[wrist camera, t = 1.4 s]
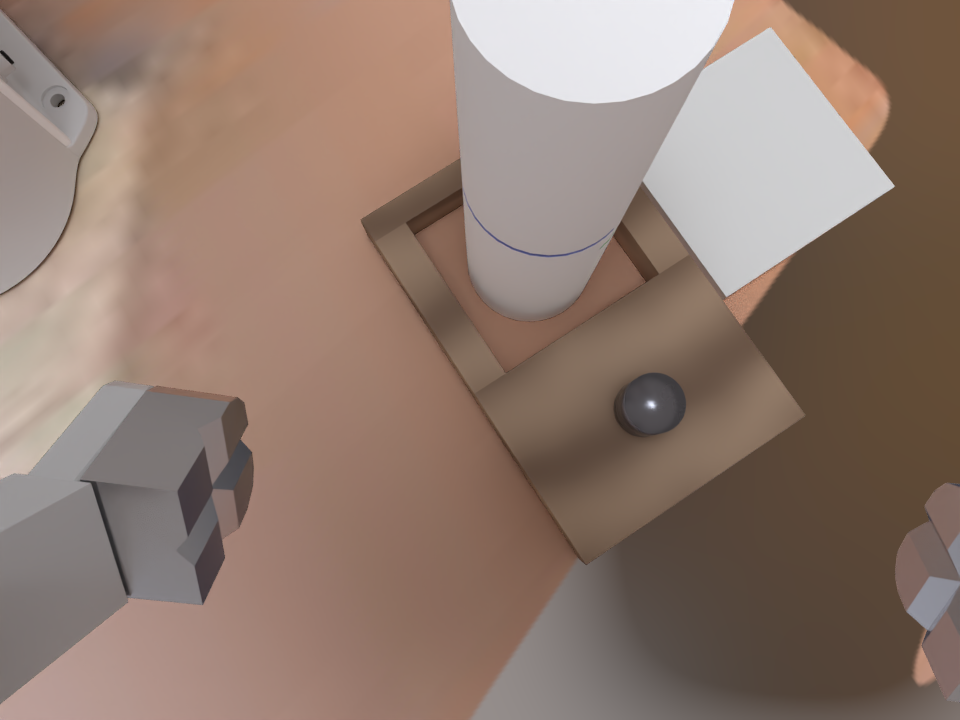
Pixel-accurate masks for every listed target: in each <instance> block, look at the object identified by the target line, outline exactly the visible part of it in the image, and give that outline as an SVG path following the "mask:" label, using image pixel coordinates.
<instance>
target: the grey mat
mask: <svg viewBox="0 0 960 720" xmlns="http://www.w3.org/2000/svg"><path fill="white" fill-rule="evenodd" d="M640 187H641V188H642V189H643V191H644V192H645V194H646V195H647V196H648V198H649V199H650V201H651V202H652V203H653V205H654V206H655V207H656V209H657V210H658V212H659V213H660V214H661V216H662V217H663V219H664V220H665V221H666V223H667V224H668V226H669V227H670V228H671V230H672V231H673V232H674V234H675V235H676V237H677V238H678V239H679V241H680V242H681V244H682V245H683V246H684V248H685V249H686V250H687V252H688V253H689V255H690V256H691V257H692V259H693V260H694V262H695V263H696V264H697V266H698V267H699V268H700V270H701V271H702V273H703V274H704V275H705V277H706V278H707V280H708V281H709V282H710V284H711V285H712V286H713V288H714V289H715V291H716V292H717V293H718V295H719V296H720V298H721V299H722V300H723V299H725V298H726V297H728V296H729V295H731V294H732V293H734V292H736V291H737V290H739V289H740V288H742V287H743V286H745V285H746V284H748V283H749V282H751V281H752V280H754V279H755V278H757V277H758V276H760V275H761V274H763V273H764V272H766V271H767V270H769V269H771V268H772V267H774V266H775V265H777V264H778V263H780V262H781V261H783V260H784V259H786V258H787V257H789V256H790V255H792V254H793V253H795V252H796V251H798V250H799V249H801V248H802V247H804V246H805V245H807V244H808V243H810V242H812V241H813V240H815V239H816V238H818V237H819V236H821V235H822V234H824V233H825V232H827V231H828V230H830V229H831V228H833V227H834V226H836V225H837V224H839V223H841V222H842V221H843V220H845V219H847V218H848V217H850V216H851V215H853V214H854V213H856V212H857V211H859V210H860V209H862V208H863V207H865V206H866V205H868V204H869V203H871V202H872V201H874V200H875V199H877V198H878V197H880V196H881V195H883V194H885V193H886V192H887V191H889V190H890V189H892V188H893V187H895V186H894V185H893V183H892V182H891V181H890V180H889V178H888V177H887V176H886V175H885V173H884V172H883V171H882V169H881V168H880V167H879V166H878V164H877V163H876V162H875V160H874V159H873V158H872V157H871V155H870V154H869V153H868V151H867V150H866V149H865V148H864V146H863V145H862V144H861V142H860V141H859V140H858V139H857V137H856V136H855V135H854V133H853V132H852V131H851V130H850V128H849V127H848V126H847V124H846V123H845V122H844V121H843V119H842V118H841V117H840V115H839V114H838V113H837V112H836V110H835V109H834V108H833V107H832V105H831V104H830V103H829V101H828V100H827V99H826V98H825V96H824V95H823V94H822V92H821V91H820V90H819V89H818V87H817V86H816V85H815V83H814V82H813V81H812V80H811V78H810V77H809V76H808V74H807V73H806V72H805V71H804V69H803V68H802V67H801V65H800V64H799V63H798V62H797V60H796V59H795V58H794V56H793V55H792V54H791V53H790V51H789V50H788V49H787V47H786V46H785V45H784V44H783V42H782V41H781V40H780V38H779V37H778V36H777V35H776V33H775V32H774V31H773V30H772V28H771V27H770V28H768V29H767V30H765V31H763V32H762V33H760V34H759V35H757V36H755V37H754V38H752V39H751V40H749V41H747V42H746V43H744V44H743V45H741V46H739V47H738V48H736V49H735V50H733V51H731V52H730V53H728V54H726V55H725V56H723V57H722V58H720V59H718V60H717V61H715V62H714V63H712V64H710V65H709V66H707V67H706V68H704V69H702V71H701V73H700V75H699V77H698V78H697V80H696V82H695V84H694V86H693V88H692V90H691V91H690V93H689V95H688V97H687V99H686V101H685V103H684V105H683V106H682V108H681V110H680V112H679V114H678V116H677V118H676V119H675V121H674V123H673V125H672V127H671V129H670V131H669V132H668V134H667V136H666V138H665V140H664V142H663V144H662V145H661V147H660V149H659V151H658V153H657V155H656V157H655V158H654V160H653V162H652V164H651V166H650V168H649V170H648V171H647V173H646V175H645V177H644V179H643V181H642V183H641V185H640Z"/></svg>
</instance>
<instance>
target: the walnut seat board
mask: <svg viewBox="0 0 960 720" xmlns="http://www.w3.org/2000/svg"><path fill="white" fill-rule="evenodd" d="M461 205H463V189H462V174H461V159H458V160H457V161H455V162H454V163H452V164H450V165H449V166H447V167H445V168H444V169H442V170H441V171H439V172H437V173H436V174H434V175H432V176H431V177H429V178H428V179H426V180H424V181H423V182H421V183H419V184H418V185H416V186H415V187H413V188H411V189H410V190H408V191H406V192H405V193H403V194H402V195H400V196H398V197H397V198H395V199H393V200H392V201H390V202H388V203H387V204H385V205H384V206H382V207H380V208H379V209H377V210H375V211H374V212H372V213H371V214H369V215H367V216H366V217H364V218H362V219H361V222H362V224H363V226H364V228H365V230H366V233H367V235H368V236H369V238H370V239H371V241H372V242H373V244H374V245H375V247H376V248H377V250H378V252H379V253H380V255H381V256H382V258H383V259H384V261H385V262H386V264H387V265H388V267H389V268H390V270H391V271H392V273H393V274H394V276H395V278H396V279H397V281H398V282H399V284H400V285H401V287H402V288H403V290H404V291H405V293H406V294H407V296H408V297H409V299H410V300H411V302H412V304H413V305H414V307H415V308H416V310H417V311H418V313H419V314H420V316H421V317H422V319H423V320H424V322H425V323H426V325H427V327H428V328H429V330H430V331H431V333H432V334H433V336H434V337H435V339H436V340H437V342H438V343H439V345H440V346H441V348H442V349H443V351H444V353H445V354H446V356H447V357H448V359H449V360H450V362H451V363H452V365H453V366H454V368H455V369H456V371H457V372H458V374H459V376H460V377H461V379H462V380H463V382H464V383H465V385H466V386H467V388H468V389H469V391H470V392H471V394H472V395H473V397H474V398H475V400H476V402H477V403H478V405H479V406H480V408H481V409H482V411H483V412H484V414H485V415H486V417H487V418H488V420H489V421H490V423H491V424H492V426H493V428H494V429H495V431H496V432H497V434H498V435H499V437H500V438H501V440H502V441H503V443H504V444H505V446H506V447H507V449H508V451H509V452H510V454H511V455H512V457H513V458H514V460H515V461H516V463H517V464H518V466H519V467H520V469H521V470H522V472H523V473H524V475H525V477H526V478H527V480H528V481H529V483H530V484H531V486H532V487H533V489H534V490H535V492H536V493H537V495H538V496H539V498H540V500H541V501H542V503H543V504H544V506H545V507H546V509H547V510H548V512H549V513H550V515H551V516H552V518H553V519H554V521H555V522H556V524H557V526H558V527H559V529H560V530H561V532H562V533H563V535H564V536H565V538H566V539H567V541H568V542H569V544H570V545H571V547H572V548H573V550H574V552H575V553H576V555H577V556H578V558H579V559H580V560H581V561H582V562H583V563H584V564H586V565H587V564H588V563H590V562H591V561H593V560H594V559H596V558H597V557H599V556H600V555H601V554H603V553H605V552H606V551H607V550H609V549H610V548H612V547H613V546H615V545H616V544H618V543H619V542H621V541H622V540H624V539H625V538H627V537H628V536H629V535H631V534H632V533H634V532H635V531H637V530H638V529H640V528H641V527H643V526H644V525H646V524H647V523H649V522H650V521H651V520H653V519H654V518H656V517H657V516H659V515H660V514H662V513H663V512H665V511H666V510H668V509H669V508H671V507H672V506H674V505H675V504H677V503H678V502H679V501H681V500H682V499H684V498H685V497H686V496H688V495H690V494H691V493H693V492H694V491H696V490H697V489H698V488H700V487H701V486H703V485H704V484H706V483H707V482H709V481H710V480H712V479H713V478H715V477H716V476H718V475H719V474H721V473H722V472H724V471H725V470H726V469H728V468H729V467H731V466H732V465H734V464H735V463H737V462H738V461H740V460H741V459H743V458H744V457H746V456H747V455H748V454H750V453H751V452H753V451H754V450H756V449H757V448H759V447H760V446H762V445H763V444H765V443H766V442H767V441H769V440H770V439H772V438H773V437H775V436H776V435H778V434H779V433H781V432H782V431H783V430H785V429H786V428H788V427H789V426H791V425H792V424H794V423H795V422H797V421H798V420H800V419H801V418H803V417H804V416H805V414H804V413H803V411H802V410H801V408H800V407H799V406H798V404H797V403H796V401H795V400H794V399H793V397H792V396H791V395H790V393H789V392H788V391H787V389H786V388H785V386H784V385H783V383H782V382H781V381H780V379H779V378H778V377H777V375H776V374H775V372H774V371H773V370H772V368H771V367H770V365H769V364H768V363H767V361H766V360H765V359H764V357H763V356H762V354H761V353H760V352H759V350H758V349H757V347H756V346H755V345H754V343H753V342H752V341H751V339H750V338H749V336H748V335H747V334H746V332H745V331H744V329H743V328H742V327H741V325H740V324H739V322H738V321H737V320H736V318H735V317H734V316H733V314H732V313H731V311H730V310H729V309H728V307H727V306H726V304H725V303H724V302H723V300H722V299H721V298H720V296H719V295H718V293H717V292H716V291H715V289H714V288H713V286H712V285H711V284H710V282H709V281H708V280H707V278H706V277H705V275H704V274H703V273H702V271H701V270H700V268H699V267H698V266H697V264H696V263H695V262H694V260H693V259H692V257H691V256H690V255H689V253H688V252H687V250H686V249H685V248H684V246H683V245H682V244H681V242H680V241H679V239H678V238H677V237H676V235H675V234H674V232H673V231H672V230H671V228H670V227H669V226H668V224H667V223H666V221H665V220H664V219H663V217H662V216H661V214H660V213H659V212H658V210H657V209H656V207H655V206H654V205H653V203H652V202H651V201H650V199H649V198H648V196H647V195H646V194H645V192H644V191H643V189H642V188H641V187H640V186H639V188H638V190H637V192H636V194H635V196H634V198H633V199H632V201H631V203H630V205H629V207H628V209H627V211H626V212H625V214H624V216H623V218H622V220H621V222H620V224H619V225H618V227H617V229H616V231H615V233H614V237H615V238H616V240H617V241H618V242H619V244H620V245H621V247H622V248H623V249H624V251H625V252H626V254H627V255H628V256H629V258H630V259H631V261H632V262H633V264H634V265H635V266H636V268H637V269H638V271H639V272H640V273H641V275H642V276H643V278H644V279H645V280H646V283H645V284H643V285H641V286H640V287H638V288H637V289H635V290H634V291H632V292H631V293H629V294H628V295H626V296H624V297H623V298H621V299H620V300H618V301H617V302H615V303H614V304H612V305H611V306H609V307H607V308H606V309H604V310H603V311H601V312H600V313H598V314H597V315H595V316H594V317H592V318H591V319H589V320H587V321H586V322H584V323H583V324H581V325H580V326H578V327H577V328H575V329H574V330H572V331H570V332H569V333H567V334H566V335H564V336H563V337H561V338H560V339H558V340H557V341H555V342H553V343H552V344H550V345H549V346H547V347H546V348H544V349H543V350H541V351H540V352H538V353H536V354H535V355H533V356H532V357H530V358H529V359H527V360H526V361H524V362H523V363H521V364H520V365H518V366H516V367H515V368H513V369H512V370H510V371H509V372H507V373H505V371H504V370H503V368H502V367H501V365H500V364H499V362H498V361H497V359H496V358H495V356H494V355H493V353H492V352H491V350H490V349H489V347H488V346H487V344H486V343H485V341H484V340H483V338H482V337H481V335H480V334H479V332H478V331H477V329H476V328H475V326H474V325H473V323H472V322H471V320H470V319H469V317H468V316H467V314H466V313H465V311H464V310H463V308H462V307H461V305H460V304H459V302H458V301H457V299H456V298H455V296H454V295H453V293H452V292H451V290H450V289H449V287H448V286H447V284H446V283H445V281H444V280H443V278H442V277H441V275H440V274H439V272H438V271H437V269H436V268H435V266H434V264H433V263H432V261H431V260H430V258H429V257H428V255H427V254H426V252H425V251H424V249H423V248H422V246H421V245H420V243H419V242H418V240H417V239H416V237H415V236H414V234H416V233H418V232H419V231H421V230H422V229H424V228H426V227H427V226H429V225H430V224H432V223H434V222H435V221H437V220H438V219H440V218H442V217H443V216H445V215H447V214H448V213H450V212H451V211H453V210H455V209H456V208H458V207H459V206H461Z"/></svg>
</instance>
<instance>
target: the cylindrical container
mask: <svg viewBox="0 0 960 720" xmlns="http://www.w3.org/2000/svg"><path fill="white" fill-rule="evenodd" d="M733 3H734V0H450V11H451V27H452V42H453V57H454V72H455V87H456V102H457V116H458V131H459V145H460V159H461V174H462V189H463V205H464V220H465V235H466V249H467V262H468V273H469V276H470V279H471V283H472V285H473V287H474V289H475V291H476V293H477V294H478V295H479V297H480V298H481V299H482V300H483V302H484V303H485V304H486V305H488V306H489V307H490V308H491V309H492V310H494V311H496V312H497V313H499V314H501V315H503V316H505V317H508V318H511V319H514V320H519V321H528V322H530V321H541V320H545V319H548V318H552V317H554V316H556V315H558V314H560V313H562V312H564V311H565V310H566V309H568V308H569V307H570V306H571V305H572V304H573V303H574V302H575V301H576V300H577V299H578V298H579V296H580V295H581V293H582V291H583V290H584V288H585V286H586V284H587V282H588V281H589V279H590V277H591V275H592V273H593V271H594V270H595V268H596V266H597V264H598V262H599V260H600V258H601V257H602V255H603V253H604V251H605V249H606V247H607V246H608V244H609V242H610V240H611V238H612V236H613V235H614V233H615V231H616V229H617V227H618V225H619V224H620V222H621V220H622V218H623V216H624V214H625V212H626V211H627V209H628V207H629V205H630V203H631V201H632V199H633V198H634V196H635V194H636V192H637V190H638V188H639V186H640V185H641V183H642V181H643V179H644V177H645V175H646V173H647V171H648V170H649V168H650V166H651V164H652V162H653V160H654V158H655V157H656V155H657V153H658V151H659V149H660V147H661V145H662V144H663V142H664V140H665V138H666V136H667V134H668V132H669V131H670V129H671V127H672V125H673V123H674V121H675V119H676V118H677V116H678V114H679V112H680V110H681V108H682V106H683V105H684V103H685V101H686V99H687V97H688V95H689V93H690V91H691V90H692V88H693V86H694V84H695V82H696V80H697V78H698V77H699V75H700V73H701V71H702V69H703V67H704V65H705V64H706V62H707V60H708V58H709V56H710V54H711V52H712V51H713V49H714V47H715V45H716V43H717V41H718V39H719V38H720V36H721V34H722V32H723V30H724V28H725V26H726V25H727V22H728V19H729V16H730V13H731V9H732V6H733Z"/></svg>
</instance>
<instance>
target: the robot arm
mask: <svg viewBox="0 0 960 720" xmlns="http://www.w3.org/2000/svg"><path fill="white" fill-rule="evenodd" d="M62 100H65V103H64V104H63V105H62V106H61V107H57V106H58V104H59V102H60V101H62ZM97 120H98V116H97V112H96V110H95V108H94V107H93V105H92V104H91V103H90V102H89V101H88V100H87V99H86V98H85V97H84V96H83V95H82V94H81V93H80V92H79V90H78V89H77V88H76V87H75V86H74V85H73V84H72V83H71V82H70V81H69V80H68V79H67V78H66V77H65V76H64V75H63V74H62V73H61V72H60V71H59V69H58V68H57V67H56V66H55V65H54V64H53V63H52V62H51V61H50V60H49V59H48V58H47V57H46V56H45V55H44V54H43V53H42V52H41V51H40V50H39V48H38V47H37V46H36V45H35V44H34V43H33V42H32V41H31V40H30V39H29V38H28V37H27V36H26V35H25V34H24V33H23V32H22V31H21V30H20V29H19V28H18V26H17V25H16V24H15V23H14V22H13V21H12V20H11V19H10V18H9V17H8V16H7V15H6V14H5V13H4V12H3V11H2V10H1V9H0V294H1V293H3V292H5V291H6V290H8V289H10V288H11V287H13V286H14V285H16V284H17V283H19V282H20V281H21V280H23V279H24V278H25V277H26V276H28V275H29V274H30V273H31V272H32V271H33V270H34V269H35V268H36V267H37V266H38V265H39V264H40V263H41V262H42V261H43V260H44V259H45V257H46V256H47V255H48V254H49V252H50V251H51V250H52V248H53V247H54V245H55V244H56V242H57V240H58V239H59V237H60V235H61V233H62V231H63V229H64V227H65V225H66V222H67V220H68V217H69V214H70V211H71V207H72V203H73V198H74V191H75V181H76V172H77V166H78V162H79V159H80V157H81V155H82V154H83V152H84V150H85V148H86V147H87V145H88V143H89V141H90V139H91V137H92V135H93V133H94V131H95V128H96V125H97ZM247 425H248V421H247V415H246V410H245V404H244V402H243V401H242V400H240V399H239V398H238V397H232V396H225V395H218V394H211V393H204V392H197V391H190V390H183V389H176V388H169V387H162V386H155V387H154V386H150V385H143V384H136V383H129V382H122V381H113V382H110V383H108V384H105V385H103V386H102V387H101V388H100V389H99V391H98V392H97V393H96V394H95V395H94V397H93V398H92V399H91V400H90V401H89V403H88V404H87V405H86V406H85V407H84V408H83V410H82V411H81V412H80V413H79V414H78V416H77V417H76V418H75V419H74V420H73V422H72V423H71V424H70V425H69V426H68V427H67V429H66V430H65V431H64V432H63V433H62V435H61V436H60V437H59V438H58V439H57V441H56V442H55V443H54V444H53V445H52V446H51V448H50V449H49V450H48V451H47V452H46V454H45V455H44V456H43V457H42V458H41V459H40V461H39V462H38V463H37V464H36V465H35V467H34V468H33V469H32V470H31V471H30V473H29V474H28V475H23V474H12V475H10V476H7V477H5V478H3V479H1V480H0V704H1V703H2V702H3V701H5V700H6V699H7V698H8V697H10V696H11V695H12V694H13V693H15V692H16V691H17V690H18V689H20V688H21V687H22V686H23V685H25V684H26V683H27V682H28V681H30V680H31V679H32V678H34V677H35V676H36V675H37V674H39V673H40V672H41V671H42V670H44V669H45V668H46V667H47V666H49V665H50V664H51V663H52V662H54V661H55V660H56V659H57V658H59V657H60V656H61V655H62V654H64V653H65V652H66V651H67V650H69V649H70V648H71V647H72V646H74V645H75V644H76V643H77V642H79V641H80V640H81V639H82V638H84V637H85V636H86V635H87V634H89V633H90V632H91V631H92V630H94V629H95V628H96V627H97V626H99V625H100V624H101V623H102V622H104V621H105V620H106V619H108V618H109V617H110V616H111V615H113V614H114V613H115V612H116V611H118V610H119V609H120V608H121V607H123V606H124V605H125V604H126V603H128V598H137V599H147V600H157V601H167V602H177V603H187V604H197V605H203V603H204V601H205V599H206V597H207V595H208V593H209V591H210V589H211V587H212V584H213V582H214V580H215V578H216V576H217V574H218V572H219V570H220V568H221V565H222V563H223V561H224V559H225V555H224V549H223V543H222V539H223V538H225V537H226V536H228V535H229V534H231V533H232V532H234V531H235V530H237V529H238V528H239V527H240V525H241V522H242V520H243V518H244V515H245V513H246V511H247V508H248V504H249V500H250V496H251V492H252V487H253V472H254V466H253V458H252V452H251V451H250V450H249V449H248V448H247V446H246V445H245V444H244V443H243V442H242V441H241V440H240V439H241V437H242V435H243V433H244V431H245V429H246V427H247ZM925 509H926V512H927V515H928V518H929V520H930V521H928V522H927V523H925V524H923V525H921V526H919V527H917V528H916V529H914V530H912V531H910V532H908V534H907V536H906V537H905V539H904V541H903V543H902V545H901V547H900V549H899V550H898V552H897V561H896V570H895V578H896V583H897V589H898V593H899V596H900V598H901V600H902V603H903V605H904V607H905V610H906V611H907V612H908V614H910V615H911V616H912V617H913V618H914V619H915V620H916V621H918V622H919V623H920V624H921V625H922V626H923V627H924V628H925V629H926V630H927V632H926V635H925V638H924V640H923V643H922V648H923V651H924V653H925V655H926V657H927V659H928V662H929V664H930V666H931V668H932V670H933V673H934V675H935V677H936V679H937V682H938V684H939V686H940V688H941V690H942V693H943V695H944V697H945V699H946V700H947V701H954V702H960V484H953V483H946V484H944V485H942V486H941V487H939V488H938V489H936V490H935V491H934V492H933V494H932V495H931V497H930V498H929V500H928V501H927V503H926V505H925Z"/></svg>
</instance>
